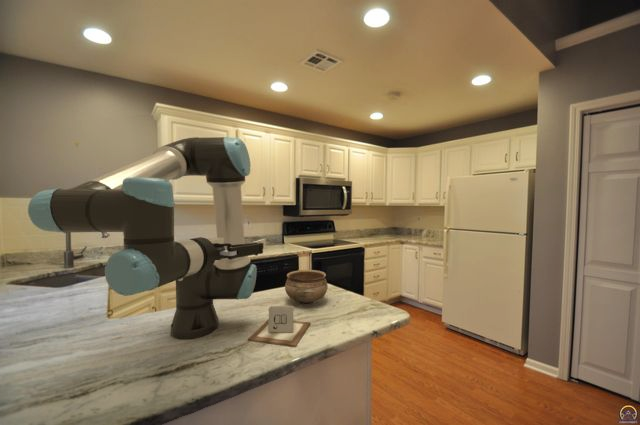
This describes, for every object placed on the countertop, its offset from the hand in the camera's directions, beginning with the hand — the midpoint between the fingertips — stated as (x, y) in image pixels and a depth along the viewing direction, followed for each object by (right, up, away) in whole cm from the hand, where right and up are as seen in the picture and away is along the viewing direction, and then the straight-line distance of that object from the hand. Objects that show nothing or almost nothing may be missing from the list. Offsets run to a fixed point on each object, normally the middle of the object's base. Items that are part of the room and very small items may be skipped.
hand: (243, 242), depth 76 cm
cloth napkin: (+9, -32, +13) cm, 35 cm away
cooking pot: (+16, -31, +41) cm, 54 cm away
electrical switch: (+9, -31, +13) cm, 35 cm away
